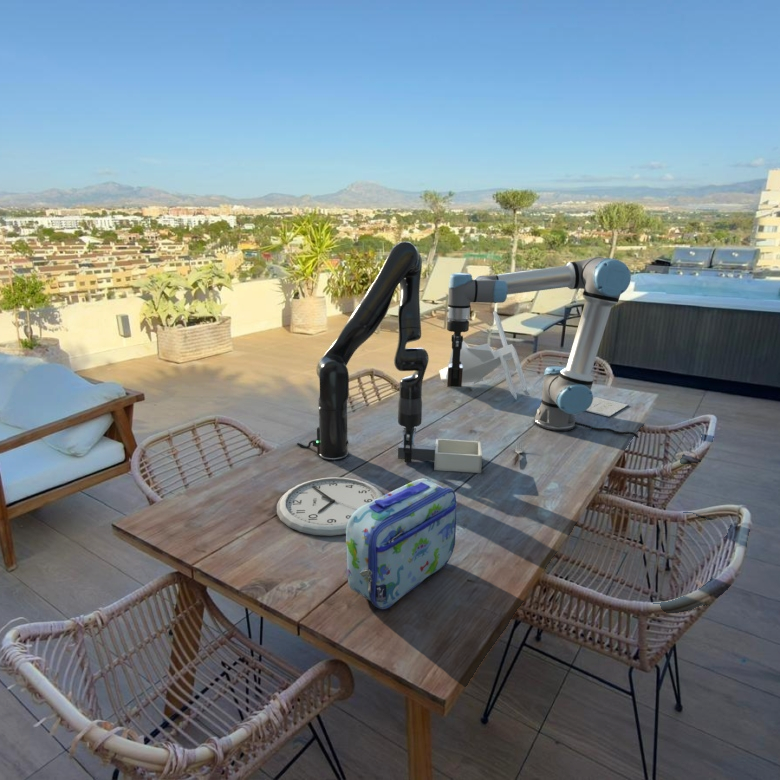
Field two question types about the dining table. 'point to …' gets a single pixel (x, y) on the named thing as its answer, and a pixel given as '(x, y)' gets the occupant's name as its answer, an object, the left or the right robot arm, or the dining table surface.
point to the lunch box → (400, 540)
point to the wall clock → (324, 504)
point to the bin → (448, 455)
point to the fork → (518, 452)
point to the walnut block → (450, 375)
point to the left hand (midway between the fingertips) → (408, 456)
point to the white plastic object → (487, 361)
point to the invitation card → (605, 407)
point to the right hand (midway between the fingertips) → (454, 384)
